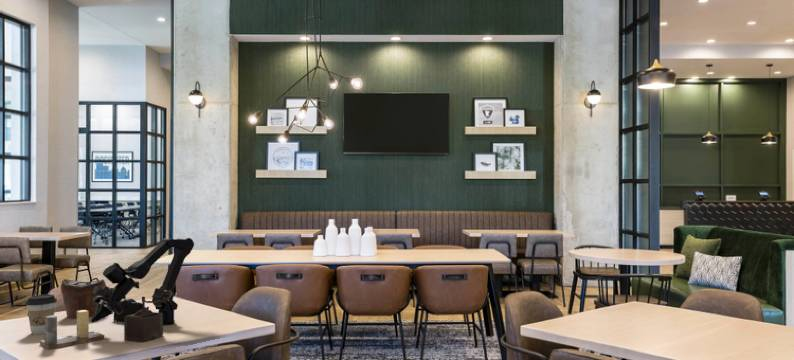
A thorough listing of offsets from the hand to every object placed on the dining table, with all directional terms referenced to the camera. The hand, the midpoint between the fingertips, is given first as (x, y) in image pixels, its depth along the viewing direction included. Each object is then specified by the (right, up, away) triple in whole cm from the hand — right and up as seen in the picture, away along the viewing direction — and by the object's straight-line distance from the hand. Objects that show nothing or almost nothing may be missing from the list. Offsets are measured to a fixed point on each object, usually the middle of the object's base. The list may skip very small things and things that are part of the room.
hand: (91, 322), depth 221 cm
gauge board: (-6, -7, -4) cm, 9 cm away
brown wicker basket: (-29, -8, +45) cm, 54 cm away
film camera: (0, -8, +34) cm, 35 cm away
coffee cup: (-28, -8, +13) cm, 32 cm away
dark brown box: (+22, -7, +3) cm, 23 cm away
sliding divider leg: (-3, -5, -1) cm, 6 cm away
